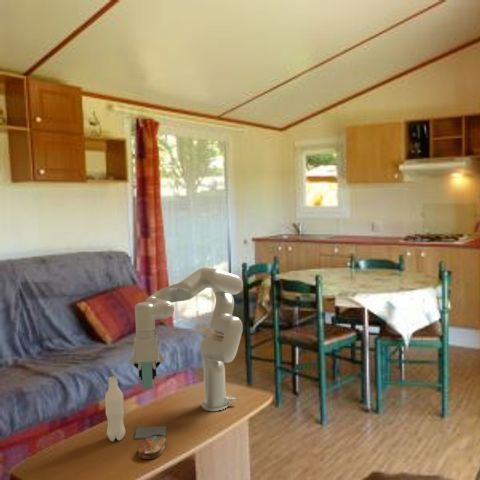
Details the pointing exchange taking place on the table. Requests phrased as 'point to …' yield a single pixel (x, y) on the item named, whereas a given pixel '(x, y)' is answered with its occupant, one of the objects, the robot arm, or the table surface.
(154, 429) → the mat
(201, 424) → the table surface
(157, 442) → the tin
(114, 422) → the water bottle
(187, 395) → the table surface
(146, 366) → the stick
